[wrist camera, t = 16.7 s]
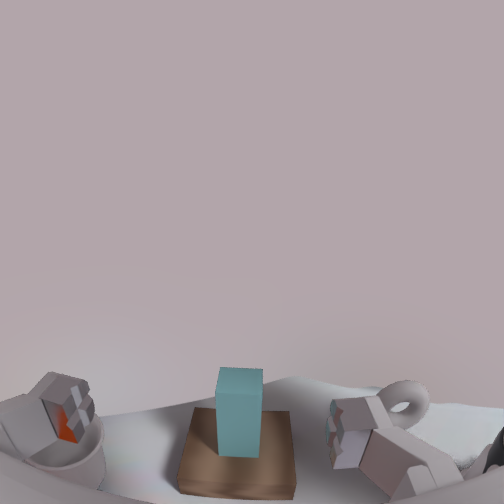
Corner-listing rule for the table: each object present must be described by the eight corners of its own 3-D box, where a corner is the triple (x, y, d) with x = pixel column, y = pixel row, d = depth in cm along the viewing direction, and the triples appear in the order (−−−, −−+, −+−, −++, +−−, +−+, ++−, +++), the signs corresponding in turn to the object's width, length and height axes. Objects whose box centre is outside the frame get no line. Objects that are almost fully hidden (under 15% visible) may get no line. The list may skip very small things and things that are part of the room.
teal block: (259, 431, 39) (262, 368, 37) (258, 457, 34) (262, 394, 32) (222, 429, 39) (220, 367, 37) (218, 455, 35) (215, 392, 32)
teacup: (75, 430, 39) (57, 381, 37) (140, 480, 32) (124, 432, 30) (19, 463, 29) (-9, 414, 26) (78, 529, 22) (45, 486, 20)
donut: (363, 438, 41) (379, 389, 39) (361, 424, 45) (374, 376, 42) (421, 434, 40) (441, 386, 38) (416, 421, 43) (433, 374, 41)
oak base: (286, 429, 45) (289, 411, 44) (292, 499, 31) (296, 483, 30) (196, 425, 45) (194, 407, 44) (180, 493, 31) (176, 477, 30)
